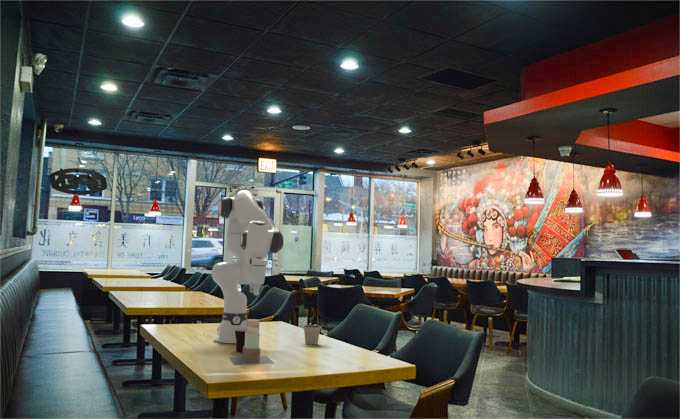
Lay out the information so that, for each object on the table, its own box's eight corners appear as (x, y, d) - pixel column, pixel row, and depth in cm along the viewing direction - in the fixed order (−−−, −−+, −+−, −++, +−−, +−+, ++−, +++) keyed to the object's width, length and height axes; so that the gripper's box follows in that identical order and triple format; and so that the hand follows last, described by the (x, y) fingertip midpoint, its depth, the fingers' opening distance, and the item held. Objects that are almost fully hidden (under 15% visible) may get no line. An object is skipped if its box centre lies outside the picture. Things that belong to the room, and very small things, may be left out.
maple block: (245, 331, 216) (246, 319, 216) (256, 331, 217) (257, 319, 217) (247, 333, 211) (248, 320, 212) (258, 333, 213) (259, 320, 213)
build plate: (228, 358, 218) (228, 356, 218) (266, 357, 223) (266, 355, 223) (233, 366, 203) (233, 364, 203) (274, 365, 208) (274, 363, 208)
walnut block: (242, 358, 215) (243, 346, 215) (256, 358, 217) (257, 346, 217) (244, 361, 209) (245, 349, 210) (259, 361, 211) (260, 348, 212)
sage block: (244, 346, 215) (245, 331, 216) (256, 346, 217) (257, 331, 217) (246, 348, 211) (247, 333, 211) (258, 348, 212) (259, 333, 213)
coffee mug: (249, 355, 227) (250, 331, 228) (230, 353, 228) (231, 330, 229) (258, 350, 238) (259, 328, 239) (240, 349, 240) (242, 327, 241)
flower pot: (320, 345, 257) (321, 327, 258) (301, 345, 257) (302, 327, 258) (321, 342, 267) (322, 325, 267) (302, 341, 267) (303, 324, 267)
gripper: (244, 258, 225) (242, 291, 224) (252, 260, 206) (250, 296, 205) (259, 259, 227) (257, 291, 226) (268, 261, 208) (266, 296, 207)
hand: (254, 293), depth 216 cm, fingers open, 8 cm apart
